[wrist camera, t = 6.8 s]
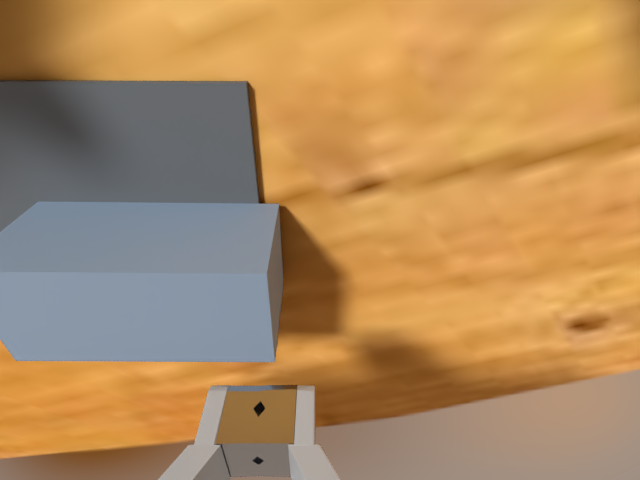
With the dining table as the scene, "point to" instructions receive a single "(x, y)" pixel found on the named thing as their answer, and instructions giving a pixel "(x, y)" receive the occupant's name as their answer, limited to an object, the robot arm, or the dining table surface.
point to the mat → (124, 143)
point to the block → (142, 282)
